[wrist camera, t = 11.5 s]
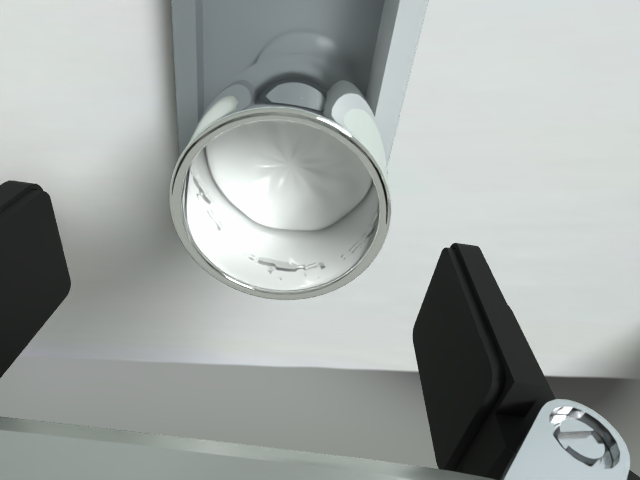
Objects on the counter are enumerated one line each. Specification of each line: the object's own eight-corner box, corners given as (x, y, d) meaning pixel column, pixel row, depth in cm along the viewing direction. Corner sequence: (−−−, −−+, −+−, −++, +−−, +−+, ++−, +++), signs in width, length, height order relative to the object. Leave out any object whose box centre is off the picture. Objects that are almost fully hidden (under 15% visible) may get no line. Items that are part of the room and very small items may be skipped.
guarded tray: (425, -95, 21) (456, -110, 16) (356, 214, 31) (362, 264, 26) (180, -139, 20) (132, -170, 15) (191, 193, 30) (165, 240, 25)
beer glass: (293, 163, 28) (266, 333, 15) (220, 72, 25) (109, 194, 12) (385, 100, 25) (441, 241, 13) (316, -9, 22) (302, 39, 10)
